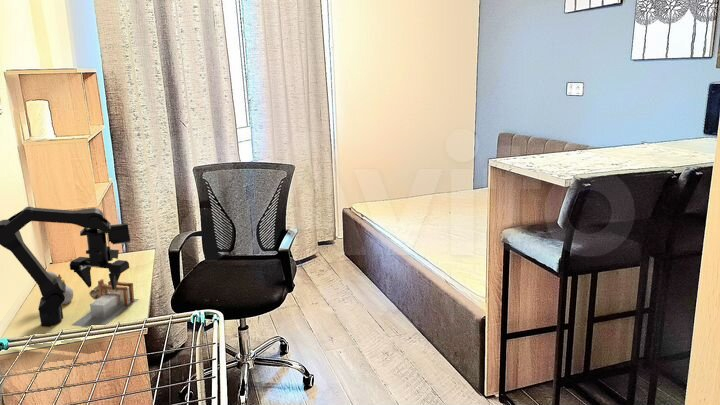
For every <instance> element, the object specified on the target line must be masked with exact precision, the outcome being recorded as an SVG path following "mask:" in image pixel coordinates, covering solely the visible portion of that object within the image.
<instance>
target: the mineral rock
mask: <svg viewBox="0 0 720 405" xmlns="http://www.w3.org/2000/svg"><path fill="white" fill-rule="evenodd" d="M104 285H108V283H104ZM107 292H109V289H107ZM89 294H90V295H89V296H90V297H91V298H94V299H98V298H100V296H99V287H98V285H97V286H94V288H93V289H91V290H90V291H89Z"/></svg>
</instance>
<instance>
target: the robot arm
mask: <svg viewBox="0 0 720 405" xmlns="http://www.w3.org/2000/svg"><path fill="white" fill-rule="evenodd" d="M30 222H40V223H54V224H55V223H57V224H72V225H75V226H78V227H81V228H83V229H82V230H81V231H79V232H80V234H79V236H80V237H84V236H86V239H87V240H86V241H87V242H86V243H87V250H85V254H86V255H88V257H86V256H78V257H77V258H75V259H73V260H71V261H70V262H69V270H70V271H73V272H74V273H76V274H77V276H79V278H81V280H82V281H83V282H84V284H85V285H86V286H87V288H91V287H92V276H91V269H92V268H96V269H98V268H99V269H107V270H108V272H109V273H108V277H109V281H110V282H111V286H112V288H113V290H115V289H116V286H118V285H117V283H118V282H119V279H120V276H121V275H122V273H124V272H126V270H128V269H130V263H129V262H128V260H121V259H119V251H120V249H113V248H111V247H110V246H108V245H107V239H108V243H110V244H112V245H118V244H128V243H131V237H130V236H131V234H130V230H129V224H128V222H124V223H119V224H111V222H110V221H109V220H108V219H106V217H105V216H104V212H103V211H102V210H101V209H99V208H96V207H93V208H92V207H91V208H81V209H76V210H75V209H74V210H69V209H58V208H57V209H56V208H43V207H33V206H25V207H24V208H23V209H22V210H20V211H18V212H17V213H14V215H12V216H10V217H9V218H8V219H1V220H0V246H1V247H3V248H4V249H6V250H8V251H10V253H12V254H13V255H14V257H15V258H16V259H17V261H18V262H19V263H20V264H21V266H22V267H23V268H24V269H25V271H26V272H27V273H28V274H29V275H30V277H31V278H32V280H34V282H35V283H36V284H37V286H38V289H39V290H40V293H41V298H40V301H39V304H38V309H37V310H38V312H39V320H40V325H41V326H40V327H44V328H45V327H46V328H51V327H53V326H57V325H59V324H61V323H62V321H63V319H64V314H63V307H62V305H61V304H62V303H63V302H64V300H65V294H66V288H65V287H66V285H67V284H66V283H65V284H64V283H63V282H62V281H61V280H62V279H60V277H59V276H58V275H57V276H58V277H57V278H53V277H51V276H50V275H49V274H48V273H47V272H48V271H47V270H46V269H45V267H44V266H43V265H42V264H41V262H40V261H39V260H38V258H37V257H36V256H35V254H33V252H32V250H30V249H29V247H28V245H27V244H26V243H25V241H24V239H23V237H22V235H21V234H22V233H21V231H20V230H21V229H23V228H24V227H25V226H26V225H28V224H29V223H30ZM106 234H107V235H106ZM106 236H107V237H108V238H107V237H106ZM114 259H116V261H114V262H111V261H113V260H114Z"/></svg>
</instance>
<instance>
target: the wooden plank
mask: <svg viewBox="0 0 720 405" xmlns="http://www.w3.org/2000/svg"><path fill="white" fill-rule="evenodd" d="M104 284H105V282H104V279H102V278H101V279H99V280H98V281H97V286H98V287H99V296H100V297H101V296H103V290H102V286H103V285H104Z"/></svg>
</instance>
